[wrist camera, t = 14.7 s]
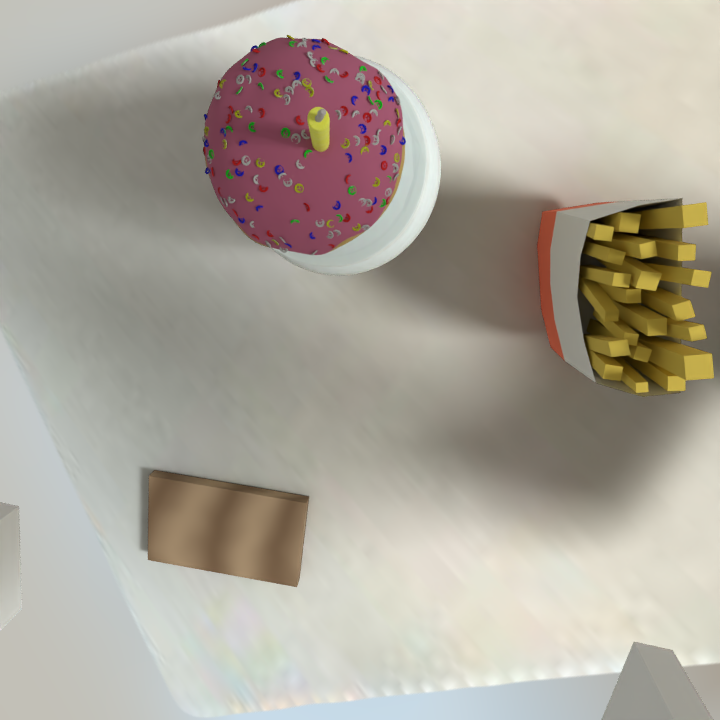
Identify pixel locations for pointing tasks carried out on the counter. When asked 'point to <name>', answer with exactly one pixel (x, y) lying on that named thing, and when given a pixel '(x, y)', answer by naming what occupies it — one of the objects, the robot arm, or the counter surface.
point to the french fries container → (623, 293)
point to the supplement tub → (407, 204)
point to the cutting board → (226, 527)
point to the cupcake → (304, 145)
